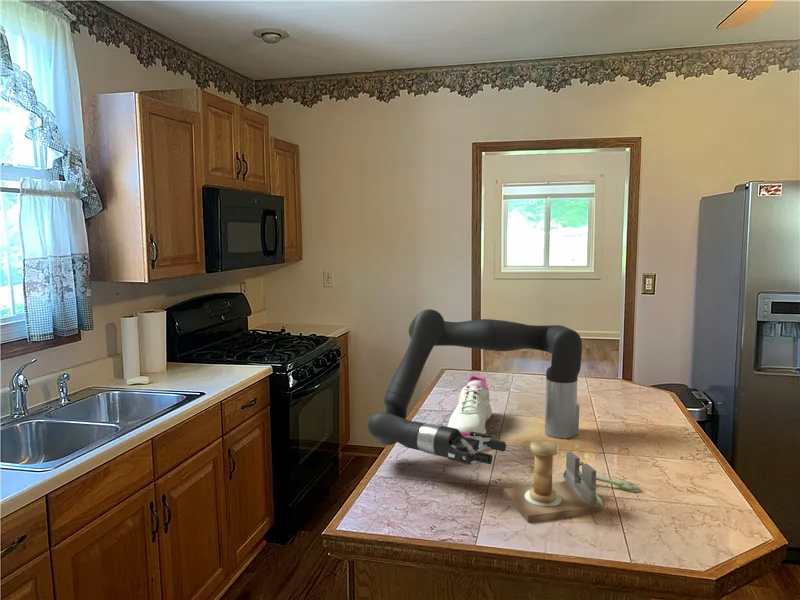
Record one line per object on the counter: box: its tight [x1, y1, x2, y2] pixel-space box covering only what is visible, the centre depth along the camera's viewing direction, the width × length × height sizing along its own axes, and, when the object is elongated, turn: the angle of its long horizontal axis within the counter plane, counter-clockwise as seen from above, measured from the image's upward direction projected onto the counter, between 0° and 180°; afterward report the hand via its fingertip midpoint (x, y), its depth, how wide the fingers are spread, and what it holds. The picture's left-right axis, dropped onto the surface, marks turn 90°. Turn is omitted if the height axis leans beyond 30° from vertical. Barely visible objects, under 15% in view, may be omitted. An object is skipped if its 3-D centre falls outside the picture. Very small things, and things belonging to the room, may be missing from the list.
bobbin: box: [530, 440, 559, 503], centre depth 133 cm, size 6×6×12 cm
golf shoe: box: [447, 375, 493, 436], centre depth 181 cm, size 12×33×15 cm, turn 166°
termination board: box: [503, 451, 602, 523], centre depth 134 cm, size 18×13×10 cm
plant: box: [562, 461, 644, 508], centre depth 143 cm, size 15×16×6 cm
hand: (498, 453), depth 138 cm, fingers open, 8 cm apart
